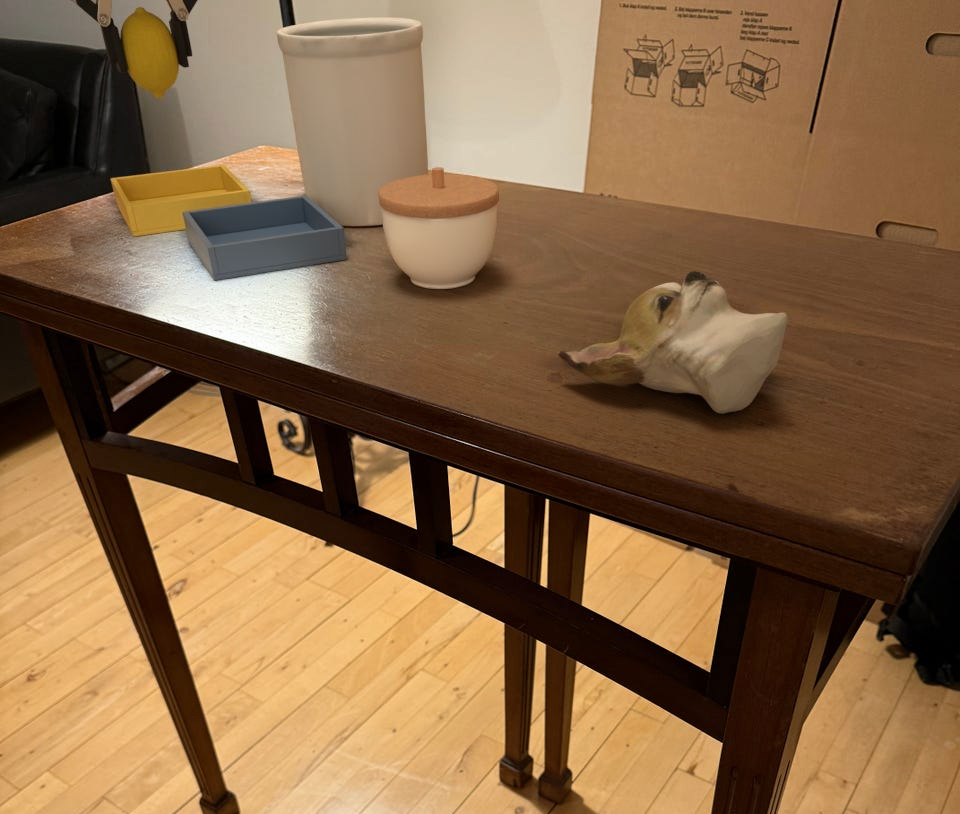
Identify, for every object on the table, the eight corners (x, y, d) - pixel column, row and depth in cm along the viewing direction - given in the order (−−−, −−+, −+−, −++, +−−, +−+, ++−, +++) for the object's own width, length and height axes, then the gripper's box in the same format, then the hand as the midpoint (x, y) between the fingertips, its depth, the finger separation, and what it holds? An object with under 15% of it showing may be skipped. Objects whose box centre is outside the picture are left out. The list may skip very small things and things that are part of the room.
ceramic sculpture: (747, 312, 54) (550, 273, 62) (730, 447, 59) (552, 394, 67) (830, 268, 60) (641, 238, 68) (808, 394, 65) (635, 351, 73)
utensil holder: (276, 222, 100) (247, 32, 89) (342, 188, 111) (323, 14, 99) (396, 235, 96) (381, 37, 84) (452, 198, 106) (446, 17, 95)
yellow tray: (133, 236, 97) (125, 206, 95) (117, 206, 106) (110, 178, 104) (254, 219, 101) (249, 190, 99) (229, 191, 110) (224, 164, 108)
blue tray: (214, 280, 86) (207, 247, 84) (188, 242, 95) (182, 211, 93) (347, 259, 90) (343, 227, 88) (310, 224, 99) (306, 195, 97)
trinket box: (362, 281, 85) (350, 171, 79) (439, 252, 91) (434, 148, 85) (446, 307, 80) (441, 191, 74) (522, 274, 86) (523, 165, 80)
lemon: (193, 98, 96) (175, 6, 91) (142, 105, 93) (120, 11, 88) (175, 91, 99) (157, 2, 94) (125, 97, 97) (104, 7, 92)
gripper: (4, -164, 78) (70, 81, 89) (205, -166, 83) (242, 66, 95) (1, -161, 83) (63, 70, 95) (190, -163, 88) (227, 56, 100)
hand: (152, 66), depth 94 cm, fingers closed on lemon, 5 cm apart
